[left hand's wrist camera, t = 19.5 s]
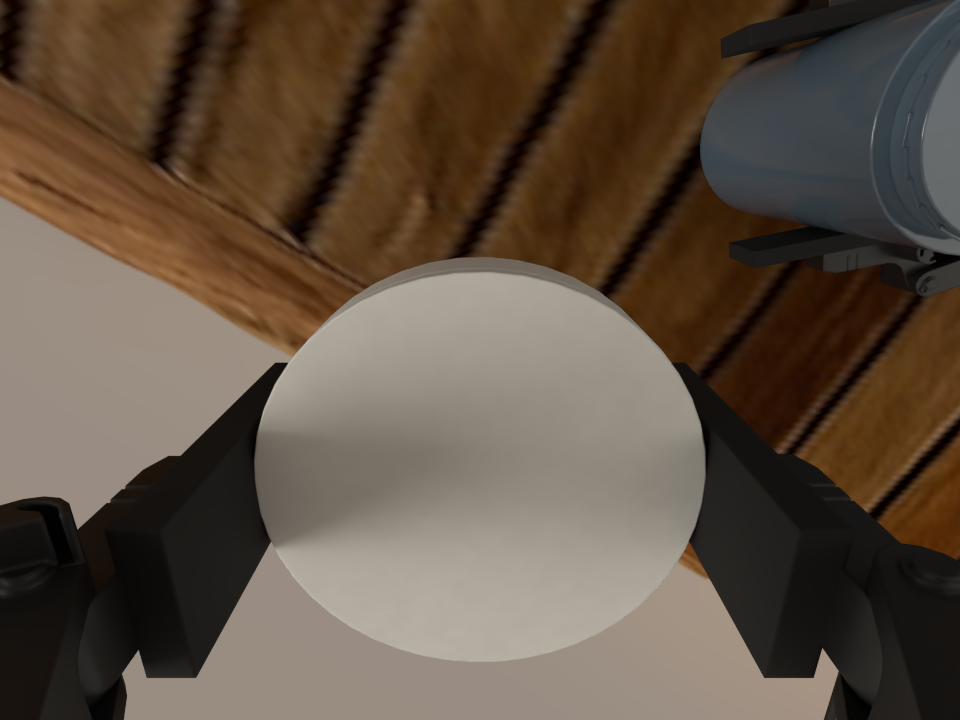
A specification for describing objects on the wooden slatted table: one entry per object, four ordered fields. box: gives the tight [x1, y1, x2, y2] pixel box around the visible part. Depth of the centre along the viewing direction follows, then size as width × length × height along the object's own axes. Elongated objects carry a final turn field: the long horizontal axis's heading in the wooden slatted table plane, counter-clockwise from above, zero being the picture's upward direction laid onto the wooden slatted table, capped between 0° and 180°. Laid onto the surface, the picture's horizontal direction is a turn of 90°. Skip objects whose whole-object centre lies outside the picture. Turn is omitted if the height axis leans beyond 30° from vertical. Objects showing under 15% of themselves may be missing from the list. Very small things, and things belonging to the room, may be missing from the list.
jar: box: [700, 0, 960, 256], centre depth 22 cm, size 8×8×15 cm
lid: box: [254, 257, 706, 662], centre depth 11 cm, size 9×9×2 cm
